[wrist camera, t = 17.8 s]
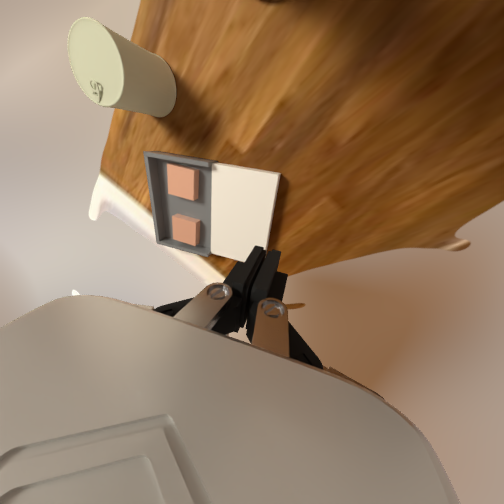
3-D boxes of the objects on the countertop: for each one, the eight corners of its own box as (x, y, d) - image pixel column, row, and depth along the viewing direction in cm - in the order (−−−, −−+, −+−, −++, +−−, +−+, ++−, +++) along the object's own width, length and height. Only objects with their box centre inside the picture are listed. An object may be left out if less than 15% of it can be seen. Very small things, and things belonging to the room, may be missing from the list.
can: (133, 106, 39) (68, 92, 29) (134, 44, 34) (56, 1, 24) (173, 125, 38) (121, 117, 28) (180, 65, 33) (121, 29, 23)
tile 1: (173, 162, 40) (166, 163, 39) (199, 169, 39) (194, 170, 38) (174, 191, 43) (168, 193, 42) (198, 198, 42) (193, 200, 41)
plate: (217, 162, 39) (211, 163, 37) (280, 173, 37) (278, 174, 35) (215, 248, 49) (210, 253, 47) (264, 261, 47) (262, 266, 45)
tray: (157, 151, 42) (143, 151, 38) (217, 161, 39) (208, 162, 36) (167, 237, 52) (156, 243, 49) (215, 249, 49) (207, 257, 46)
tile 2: (177, 213, 46) (172, 215, 44) (200, 220, 45) (195, 222, 43) (178, 236, 49) (173, 239, 47) (199, 242, 48) (195, 246, 46)
